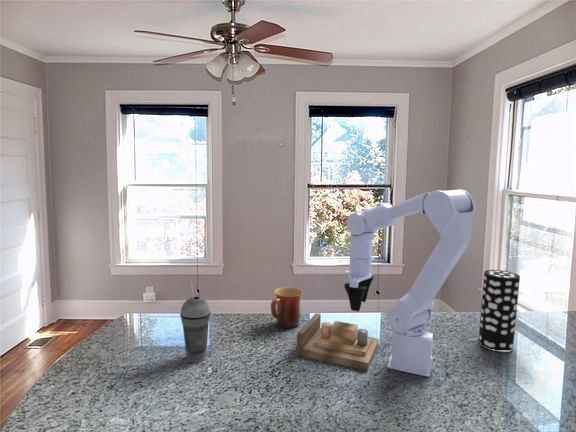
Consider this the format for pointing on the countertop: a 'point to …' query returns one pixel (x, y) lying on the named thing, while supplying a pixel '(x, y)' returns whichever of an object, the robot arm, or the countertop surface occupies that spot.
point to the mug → (287, 306)
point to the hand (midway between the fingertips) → (358, 305)
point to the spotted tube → (498, 309)
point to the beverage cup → (195, 327)
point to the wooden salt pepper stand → (344, 338)
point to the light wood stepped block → (309, 350)
